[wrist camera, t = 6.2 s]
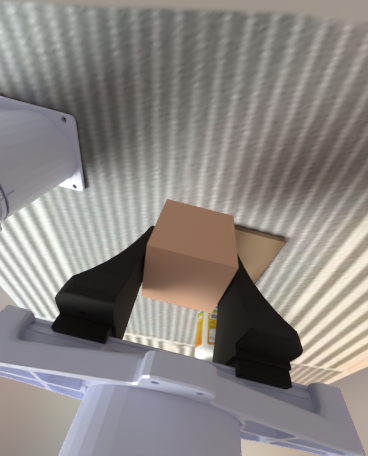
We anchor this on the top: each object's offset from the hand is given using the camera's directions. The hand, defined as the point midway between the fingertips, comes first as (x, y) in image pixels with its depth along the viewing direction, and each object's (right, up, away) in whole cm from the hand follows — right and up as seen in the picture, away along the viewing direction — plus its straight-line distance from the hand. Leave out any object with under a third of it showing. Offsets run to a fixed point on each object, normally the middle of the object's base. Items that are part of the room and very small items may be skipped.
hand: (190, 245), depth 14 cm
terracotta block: (0, +1, +1) cm, 2 cm away
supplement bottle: (+5, -15, +21) cm, 26 cm away
